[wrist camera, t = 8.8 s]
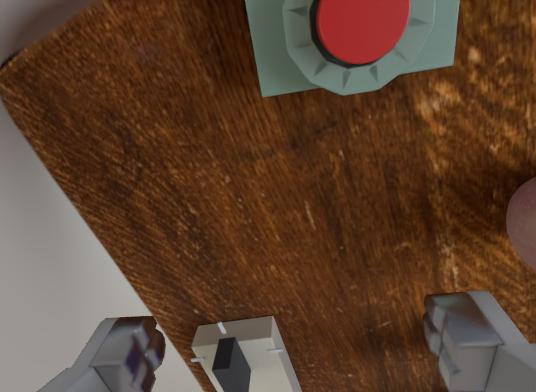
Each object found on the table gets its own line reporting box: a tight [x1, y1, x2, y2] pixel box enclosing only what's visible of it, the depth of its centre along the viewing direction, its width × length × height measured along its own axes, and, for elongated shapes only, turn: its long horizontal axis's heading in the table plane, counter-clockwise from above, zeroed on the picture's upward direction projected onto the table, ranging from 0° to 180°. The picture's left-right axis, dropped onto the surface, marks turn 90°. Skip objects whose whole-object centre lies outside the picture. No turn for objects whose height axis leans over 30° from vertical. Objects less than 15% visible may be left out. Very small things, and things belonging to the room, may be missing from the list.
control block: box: [245, 0, 459, 97], centre depth 16 cm, size 10×6×5 cm, turn 100°
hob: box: [191, 316, 302, 392], centre depth 33 cm, size 21×9×3 cm, turn 16°
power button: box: [316, 0, 411, 64], centre depth 13 cm, size 4×4×2 cm
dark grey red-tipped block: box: [212, 337, 251, 392], centre depth 28 cm, size 5×2×3 cm, turn 16°
